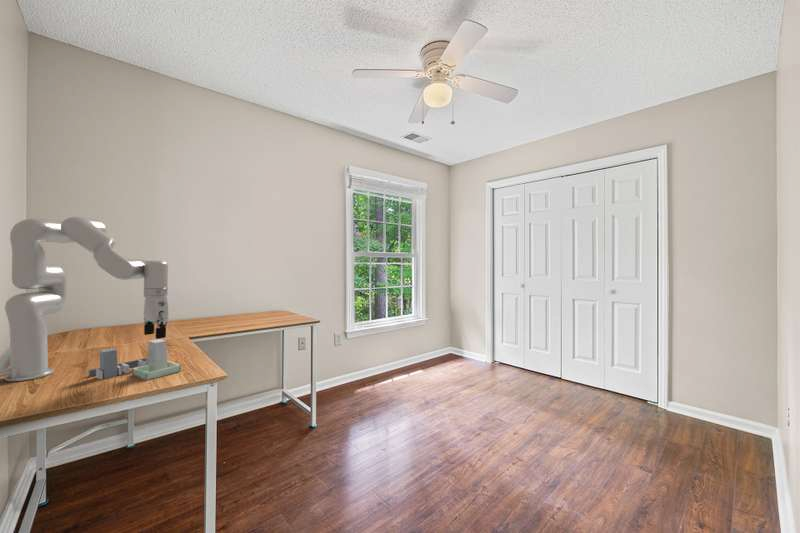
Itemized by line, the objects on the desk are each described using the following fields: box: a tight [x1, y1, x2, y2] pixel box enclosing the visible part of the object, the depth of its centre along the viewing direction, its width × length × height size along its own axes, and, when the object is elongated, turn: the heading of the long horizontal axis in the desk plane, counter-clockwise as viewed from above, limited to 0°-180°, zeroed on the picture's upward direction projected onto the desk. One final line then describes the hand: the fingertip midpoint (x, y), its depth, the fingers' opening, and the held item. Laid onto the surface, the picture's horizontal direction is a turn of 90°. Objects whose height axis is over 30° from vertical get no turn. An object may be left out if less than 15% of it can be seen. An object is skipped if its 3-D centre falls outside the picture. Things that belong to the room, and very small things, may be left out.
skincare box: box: [147, 338, 168, 372], centre depth 133 cm, size 6×4×12 cm
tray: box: [132, 360, 182, 381], centre depth 133 cm, size 12×11×2 cm
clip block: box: [88, 357, 148, 381], centre depth 136 cm, size 24×11×3 cm, turn 148°
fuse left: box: [99, 347, 118, 380], centre depth 129 cm, size 4×4×10 cm
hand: (154, 336), depth 133 cm, fingers open, 9 cm apart
